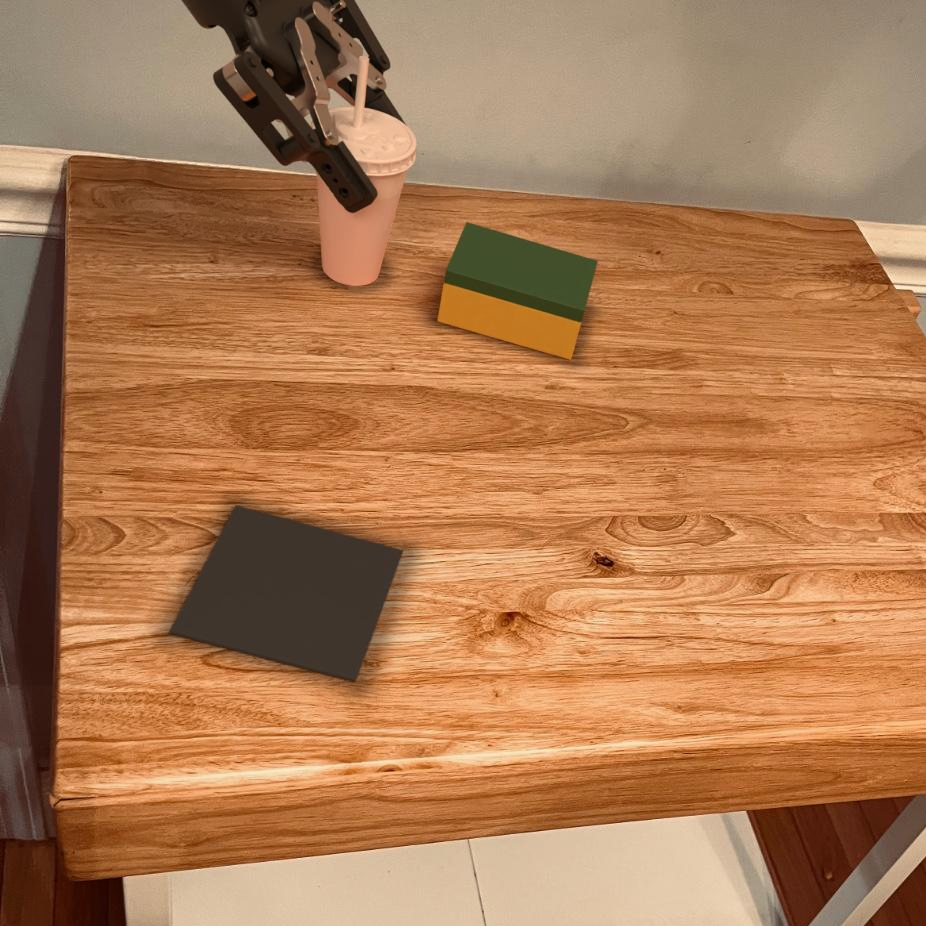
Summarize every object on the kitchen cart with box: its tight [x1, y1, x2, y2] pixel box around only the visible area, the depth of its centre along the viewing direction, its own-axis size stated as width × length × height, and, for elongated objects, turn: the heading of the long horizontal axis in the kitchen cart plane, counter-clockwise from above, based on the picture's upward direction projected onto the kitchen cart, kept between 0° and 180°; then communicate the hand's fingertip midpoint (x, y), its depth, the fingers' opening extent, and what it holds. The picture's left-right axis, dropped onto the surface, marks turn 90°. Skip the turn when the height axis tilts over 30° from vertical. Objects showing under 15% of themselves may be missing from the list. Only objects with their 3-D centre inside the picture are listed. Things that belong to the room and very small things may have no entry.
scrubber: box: [437, 221, 598, 361], centre depth 78 cm, size 9×6×4 cm, turn 83°
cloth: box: [169, 504, 404, 683], centre depth 60 cm, size 9×9×1 cm
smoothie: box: [310, 55, 418, 287], centre depth 73 cm, size 6×6×14 cm
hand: (385, 178), depth 73 cm, fingers closed on smoothie, 6 cm apart
